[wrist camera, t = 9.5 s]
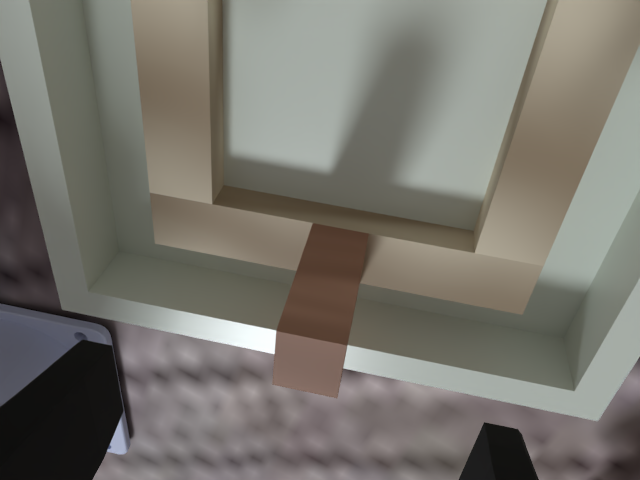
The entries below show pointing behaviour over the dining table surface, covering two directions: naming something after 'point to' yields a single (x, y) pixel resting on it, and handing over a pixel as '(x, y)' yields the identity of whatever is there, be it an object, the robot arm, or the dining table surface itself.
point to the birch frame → (362, 226)
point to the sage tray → (334, 183)
